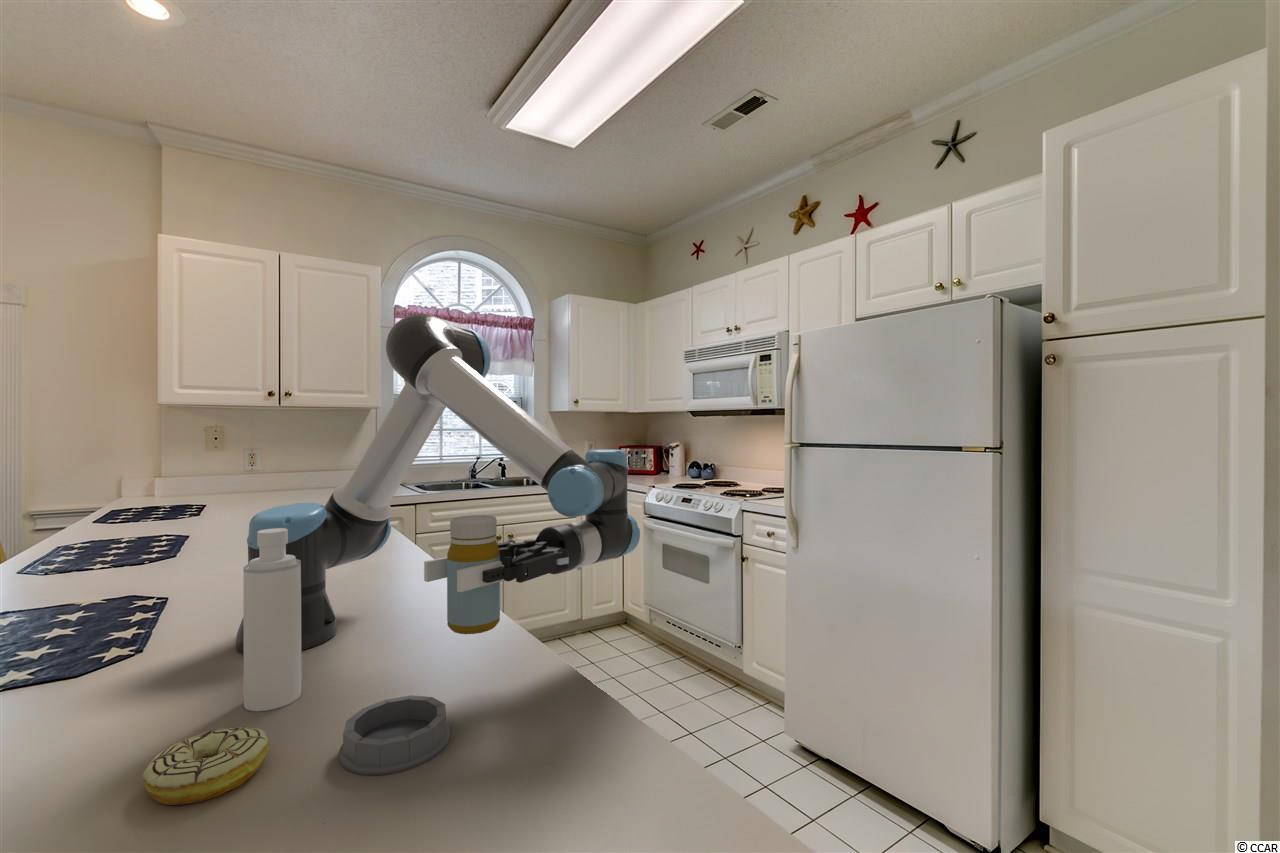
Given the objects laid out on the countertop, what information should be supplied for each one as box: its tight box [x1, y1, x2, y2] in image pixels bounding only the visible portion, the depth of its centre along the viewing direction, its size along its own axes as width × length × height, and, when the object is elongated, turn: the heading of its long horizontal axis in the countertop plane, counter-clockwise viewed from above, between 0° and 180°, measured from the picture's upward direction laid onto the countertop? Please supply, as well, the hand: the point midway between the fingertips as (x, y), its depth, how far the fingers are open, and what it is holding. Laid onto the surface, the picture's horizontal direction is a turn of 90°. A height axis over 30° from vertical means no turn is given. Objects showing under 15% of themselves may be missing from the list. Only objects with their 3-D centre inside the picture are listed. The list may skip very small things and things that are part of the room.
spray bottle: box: [242, 528, 302, 712], centre depth 78 cm, size 7×7×25 cm
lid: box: [339, 695, 451, 776], centre depth 67 cm, size 12×12×3 cm
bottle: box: [446, 514, 501, 635], centre depth 79 cm, size 7×7×15 cm
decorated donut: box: [142, 726, 270, 806], centre depth 61 cm, size 10×11×4 cm
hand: (441, 576), depth 75 cm, fingers closed on bottle, 7 cm apart
